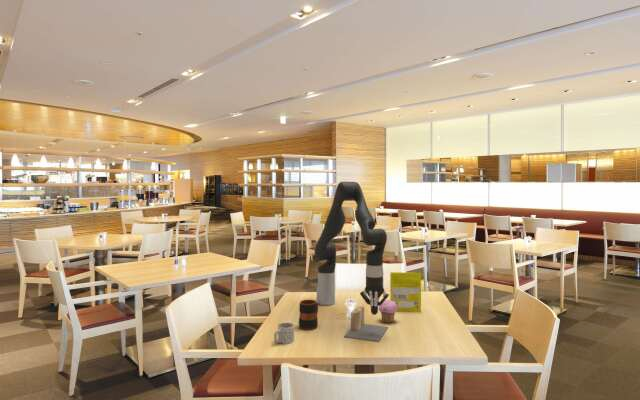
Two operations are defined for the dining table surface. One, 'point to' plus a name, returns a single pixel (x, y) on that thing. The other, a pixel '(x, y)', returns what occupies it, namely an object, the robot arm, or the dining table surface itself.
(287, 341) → the mug
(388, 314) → the cupcake
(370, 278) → the robot arm
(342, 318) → the dining table surface
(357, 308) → the wooden block
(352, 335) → the mat
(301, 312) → the mug
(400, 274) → the food package
